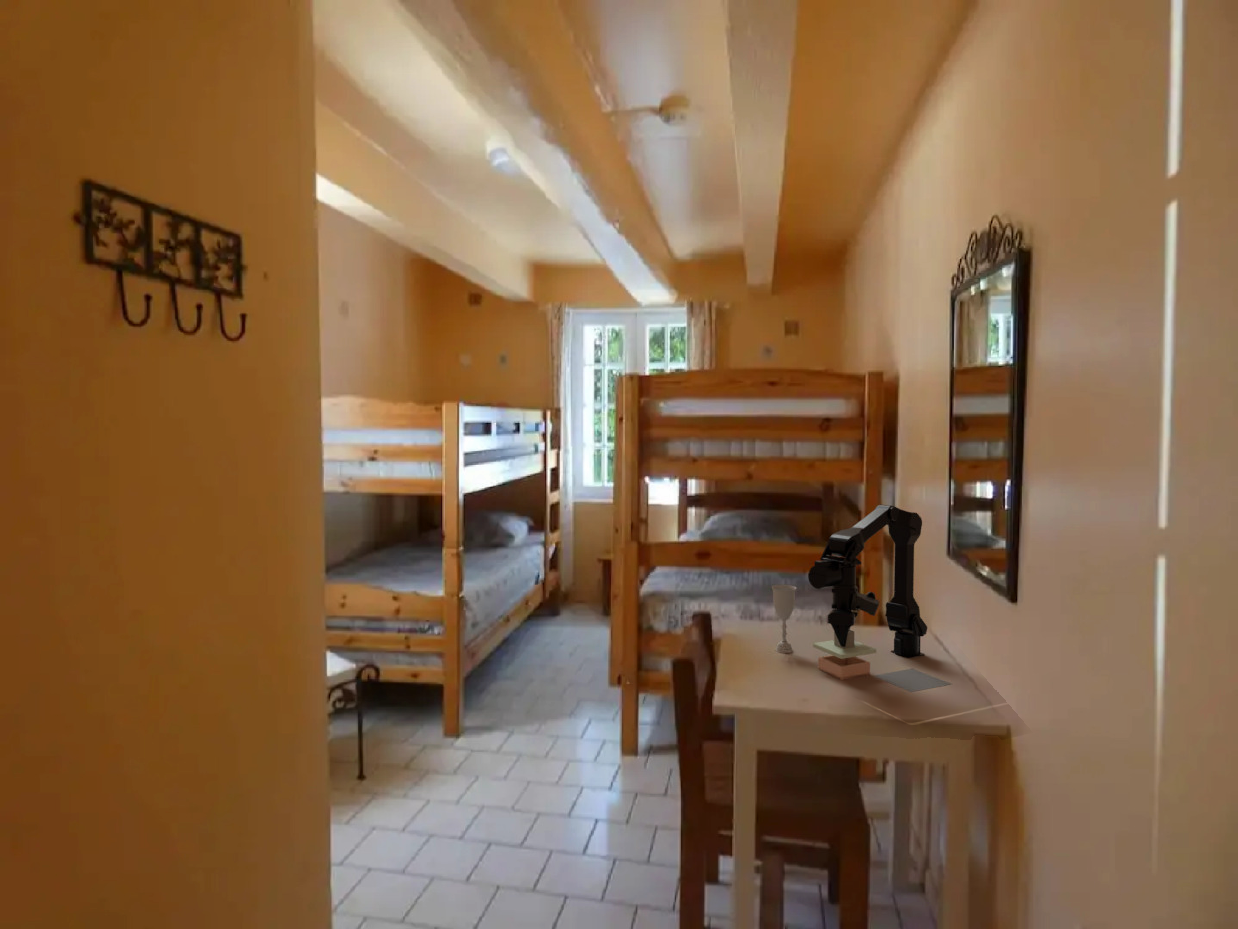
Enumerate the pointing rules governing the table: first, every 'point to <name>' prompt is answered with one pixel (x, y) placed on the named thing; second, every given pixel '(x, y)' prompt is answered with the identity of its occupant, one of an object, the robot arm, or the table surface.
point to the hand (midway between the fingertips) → (844, 643)
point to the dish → (844, 666)
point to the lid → (847, 651)
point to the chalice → (784, 611)
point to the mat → (912, 680)
